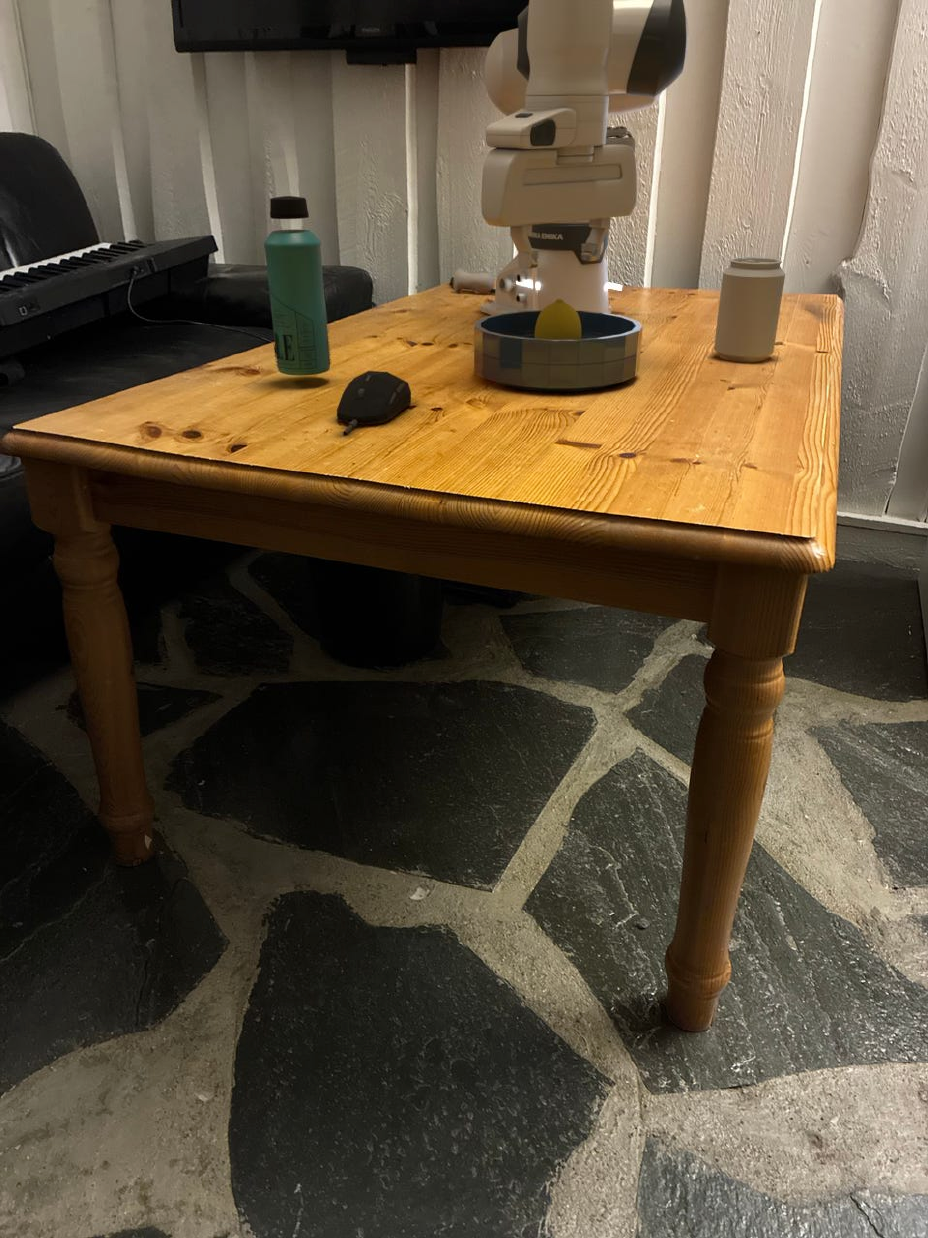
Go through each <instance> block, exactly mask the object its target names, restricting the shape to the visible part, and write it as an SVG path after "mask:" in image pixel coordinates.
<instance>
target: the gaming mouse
mask: <svg viewBox="0 0 928 1238" xmlns="http://www.w3.org/2000/svg"><path fill="white" fill-rule="evenodd" d="M411 401H412V390H411V387H410V385H409V382H407V381H406V380H404V379H402V378H400V377H398V376H396V375H394V374H392V373H390V372H389V371H379V370H378V371H376V370H367V371H365V372H364V373H361V374H360V375H357V376H355V377H354V378H353V379H352V380H350V382H348V384H347V386H346V387H345V389H344V390H343V392H342V394H341V398H340V400H339V403H338V406H337V409H336V418H337V420H338V421H339V422H342V423H348V425H347V427H346V428H345V430H343V432H342V434H343V436H347V435H348V434H349V433H350V431H351V430H354V429H355V428H356V426H357V425H377V424H382V423H386V422H388V421H389V420H391V419H392V418H394V417H395V416H396V415H397V414H399V413H400V412H401V411H404V409H406V408H407V407H408V406H409V405H410V404H411Z"/></svg>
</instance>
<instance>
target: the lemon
mask: <svg viewBox="0 0 928 1238" xmlns="http://www.w3.org/2000/svg"><path fill="white" fill-rule="evenodd" d="M535 338H539V339H581V323H580V318H579V315H578V313H577V312H576V310H575V309H574V308H573V307H572V306H570V305H569V304H567V303H564V301H563V300H562V299H557V300H556V301H555V302H554V303H552V304H550V305H548V306H546V307H545V308H544V309H543V310H542V312H541V313H540V315H539V317H538V319H537V322H536V327H535Z"/></svg>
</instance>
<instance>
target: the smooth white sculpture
mask: <svg viewBox="0 0 928 1238" xmlns="http://www.w3.org/2000/svg"><path fill="white" fill-rule="evenodd" d="M453 277H454V283H453V286H452V287H453V290H455V292H457V293H460V292H461V291H462V290H465V289H470V290H469V291H472V292H474V294H477V295H480V294H490V293H489V292H490V291H491V290H492V289H495V287H496V281H495V278H494V277H493V276H492V274H490V273H489V272H488V273H487V272H484V270H477V272H476V273H468V272H466V271H464V269H463V268H462V267H460V268H458V269H456V270H455V273H454V276H453Z"/></svg>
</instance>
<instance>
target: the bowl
mask: <svg viewBox="0 0 928 1238" xmlns="http://www.w3.org/2000/svg"><path fill="white" fill-rule="evenodd" d="M541 312H542V310H532V311H517V312H508V313H501V314H495V315H487V316H484V317H481V318H479V319H478V320H476V321H474V322H473V330H474V331H473V345H474V346H473V352H474V353H473V356H474V358H473V360H474V362H473V368H474V369H473V371H474V373H475V374H477V375H478V376H479V377H481V378H483V379H486V380H489V381H493V382H496V383H497V384H500V385H503V386H506V387H511V388H514V389H521V390H528V391H538V392H560V393H561V392H581V391H582V392H583V391H590V390H591V391H593V390H597V389H603V388H606V387H610V386H613V385H615V384H620V383H623V382H625V381H628V380H630V379H633V378H635V377H636V376H637V375H638V373H639V371H640V365H641V364H640V363H641V350H642V339H643V328H644V325H642V324H641V323H640V322H639V321H638V320H636V319H633V318H631V317H628V316H624V315H619V314H613V313H611V314H609V313H600V312H591V311H576V312H577V313H578V315H579V318H580V323H581V339H539V338H535V327H536V322H537V319H538V317H539V315H540V313H541Z"/></svg>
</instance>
